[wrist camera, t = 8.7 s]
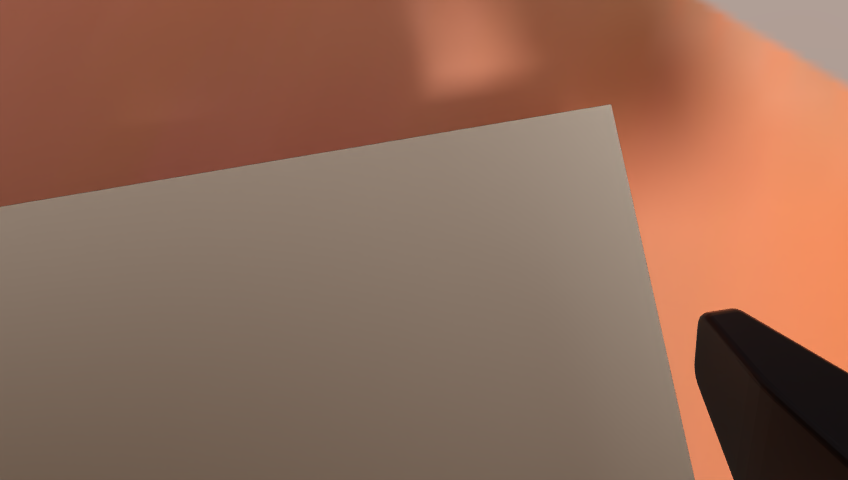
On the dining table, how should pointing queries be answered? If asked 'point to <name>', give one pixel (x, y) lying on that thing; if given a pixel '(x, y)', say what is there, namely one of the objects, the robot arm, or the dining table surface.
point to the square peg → (344, 319)
